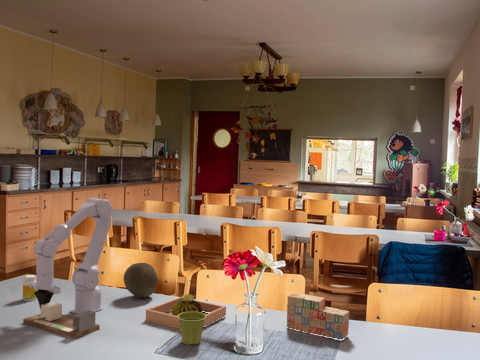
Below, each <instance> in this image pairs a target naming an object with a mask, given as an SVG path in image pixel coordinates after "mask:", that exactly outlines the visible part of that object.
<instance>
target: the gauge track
mask: <svg viewBox="0 0 480 360" xmlns="http://www.w3.org/2000/svg"><path fill="white" fill-rule="evenodd" d="M96 312H97V311H96ZM96 312H94V311H90V310H89V311H86V312H83V313H80V314H74V315H72V316H69V315H65V314H62V317H61V318H58V319H55V320H52V321H48V320H44V319H42V320H39V321H38V319H41V313H38V314H36V315H35V314H34V315H32V316H29V317H24V318H23V319H22V320H23V321H22V324H25V325H28V326H32V327H35V328H38V329H42V330H45V331H48V332H51V333H55V334H58V335H61V336H65V337H68V338H71V339H77V338H79V337H82V336H86V335H88V334H91V333H93V332H95V331H98V330H100V324H97V323H96Z"/></svg>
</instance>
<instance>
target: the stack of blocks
mask: <svg viewBox="0 0 480 360" xmlns="http://www.w3.org/2000/svg"><path fill="white" fill-rule="evenodd" d="M286 306H287V307H286V328H287V327H288V328H292V329H296V330H300V331H304V332H307V333H313V334H318V335H323V336H327V337H332V338H337V339H343V338H345V337H346V336H347V335H348V336H349V326H350V325H349V324H350V323H349V322H350V311H349V310H345V309H339V308H335V307H329V306H326V298H325V297H323V296H321V297H320V296H317V295H311V294H306V293H305V294H304V293H302V292H301V293H300V292H293V293H292V294H289V295H287V304H286Z"/></svg>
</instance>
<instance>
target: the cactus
mask: <svg viewBox="0 0 480 360" xmlns="http://www.w3.org/2000/svg"><path fill="white" fill-rule="evenodd" d="M180 299H181V301H179V302H177V303H175V305H174V306H173V309H172V311H171V313H170V314H171V315H175V316H178V315H179V314H180V313H184V312H201V313H202V309H201V306H200V305H201V304H199V303H198V302H197V301H198V300H197V301H195V300H196V299H195V298H194V296H193V295H191V294H182V295H181V296H180Z"/></svg>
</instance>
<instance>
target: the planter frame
mask: <svg viewBox="0 0 480 360" xmlns="http://www.w3.org/2000/svg"><path fill="white" fill-rule="evenodd" d="M180 297H181V296H180ZM180 297H176V298H173V299H170V300H168V301H166V302H163V303H160V304H157V305H155V306H153V307H150V308H147V309H145V321H147V322H150V323H155V324H159V325H161V326H162V325H163V326H167V327H171V328H174V329H178V330H181V328H180V322H179V319H178V316H175V315H171V314H172V313H170V312H169V311H171V310H172V309H173V306H174V305H175V303H177V302H179V301H181V299H180ZM194 300H195V301H197V302H198V303H199V304H201V305H200V306H201V309H202V311H205V312H210V313H208V314H206V313H205V315H206V319H205V321H204V323H203V327H204V326H206V325H208V324H210V323H212V322H214V321H216V320H218V319H220V318H222V317H224V316H225V315H226V316H227V306H225V305H221V304H216V303H210V302H205V301H202V300H201V301H200V300H197V299H194ZM167 312H169V313H167ZM171 312H172V311H171ZM224 318H225V317H224ZM222 319H223V318H222ZM220 320H221V319H220ZM218 321H219V320H218Z"/></svg>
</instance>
